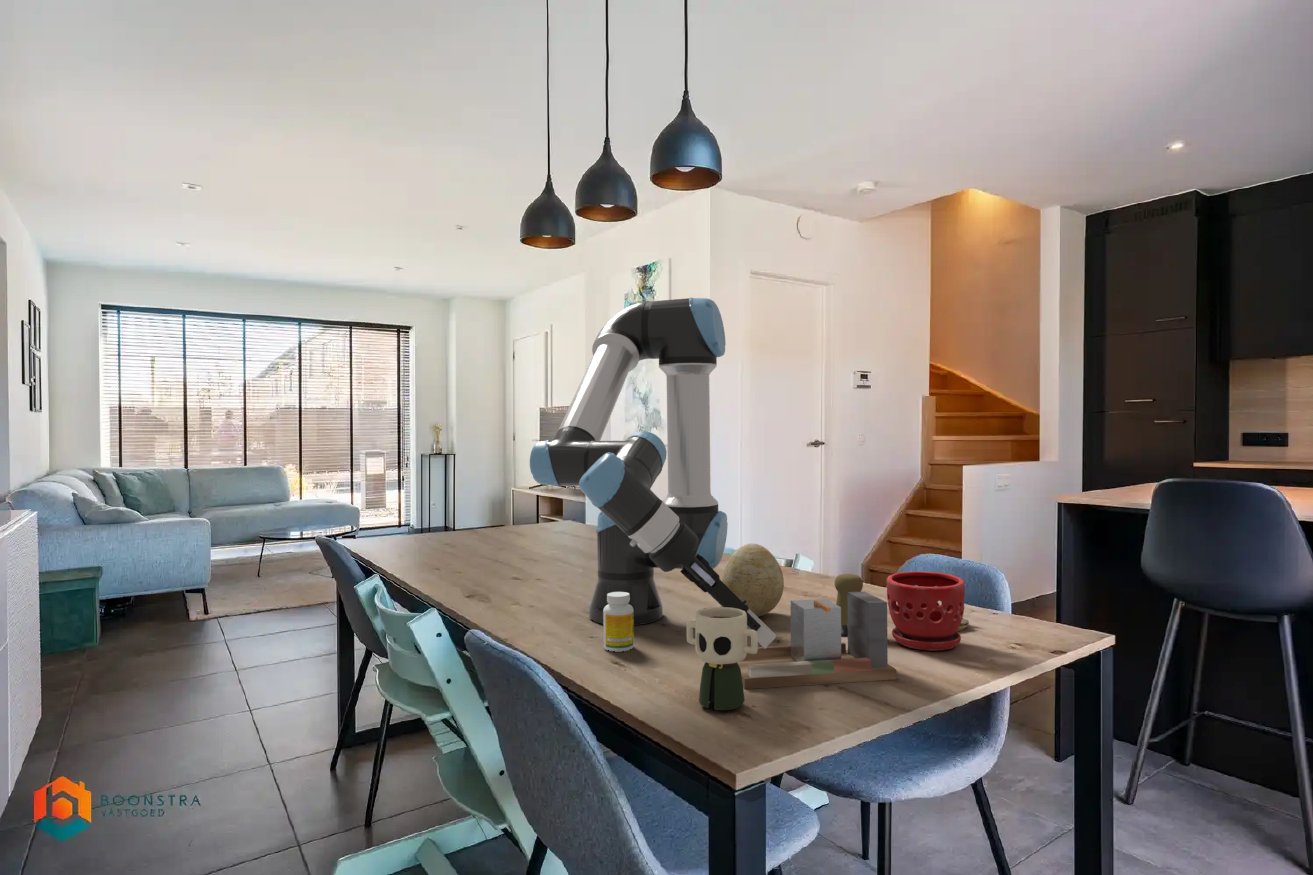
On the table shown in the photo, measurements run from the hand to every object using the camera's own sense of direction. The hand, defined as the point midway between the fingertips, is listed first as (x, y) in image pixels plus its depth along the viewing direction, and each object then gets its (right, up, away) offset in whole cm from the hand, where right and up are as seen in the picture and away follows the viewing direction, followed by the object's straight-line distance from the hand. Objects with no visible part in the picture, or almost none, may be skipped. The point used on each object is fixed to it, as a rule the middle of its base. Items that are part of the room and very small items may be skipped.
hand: (769, 640), depth 116 cm
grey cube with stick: (+9, -3, 0) cm, 9 cm away
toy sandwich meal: (+36, -5, +30) cm, 47 cm away
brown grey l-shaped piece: (+6, -5, +1) cm, 8 cm away
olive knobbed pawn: (+19, -5, +24) cm, 31 cm away
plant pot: (+30, -5, +16) cm, 35 cm away
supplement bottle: (-24, -6, +15) cm, 29 cm away
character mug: (-9, -6, -13) cm, 17 cm away
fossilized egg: (+2, -5, +38) cm, 38 cm away
